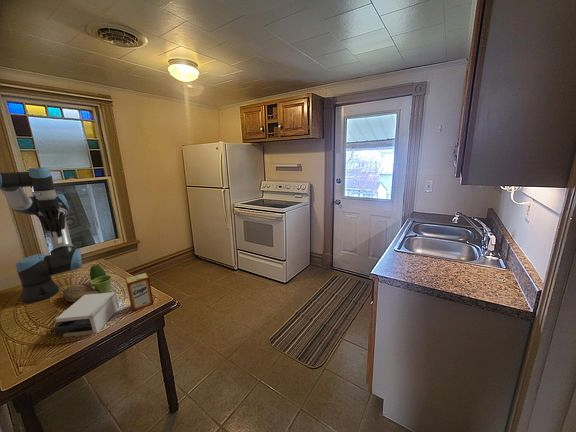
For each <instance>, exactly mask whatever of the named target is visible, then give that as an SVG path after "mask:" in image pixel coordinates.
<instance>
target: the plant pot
mask: <svg viewBox="0 0 576 432" xmlns="http://www.w3.org/2000/svg"><path fill="white" fill-rule="evenodd" d="M112 278H113V277H112V275H106V276H101V277H98V278H96V279H94V280H91V282H90V284H91V285H92V286H93V288H94V289H96V290H97V291H98V294H100V293H110V292H112V282H111V281H112Z"/></svg>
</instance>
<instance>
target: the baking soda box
mask: <svg viewBox="0 0 576 432" xmlns="http://www.w3.org/2000/svg"><path fill="white" fill-rule="evenodd" d="M125 284H126V288H127V293H128V297H129V298H128V299H129V303H130V306H131V309H132V312H135V311H138V310H140V309H143V308H144V309H145V307H146V306H147V307H149V306H152V305H154V304H155V303H154V298H153V293H152V292H153V291H152V287H151V282H150V277H149V275H148V273H147V272H144V273H140V274H136V275H133V276H130V277H126V278H125ZM153 303H154V304H153ZM151 304H152V305H151ZM148 305H149V306H148Z"/></svg>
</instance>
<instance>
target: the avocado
mask: <svg viewBox="0 0 576 432" xmlns="http://www.w3.org/2000/svg"><path fill="white" fill-rule="evenodd" d="M106 272H107V271H105V269H104V268H103V267H102V266H101V265H99V264H93V265H92V266H91V267H90V270H89V278H90V280H91V281H92V280H94V279H96V278H98V277H101V276H107V273H106Z"/></svg>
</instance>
